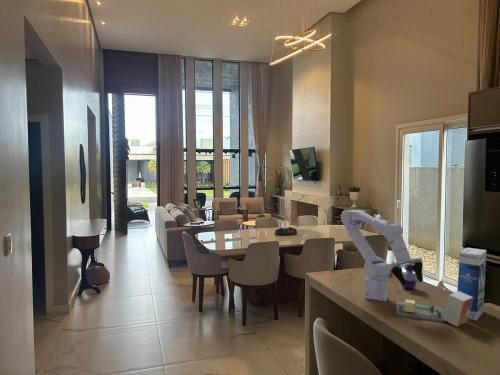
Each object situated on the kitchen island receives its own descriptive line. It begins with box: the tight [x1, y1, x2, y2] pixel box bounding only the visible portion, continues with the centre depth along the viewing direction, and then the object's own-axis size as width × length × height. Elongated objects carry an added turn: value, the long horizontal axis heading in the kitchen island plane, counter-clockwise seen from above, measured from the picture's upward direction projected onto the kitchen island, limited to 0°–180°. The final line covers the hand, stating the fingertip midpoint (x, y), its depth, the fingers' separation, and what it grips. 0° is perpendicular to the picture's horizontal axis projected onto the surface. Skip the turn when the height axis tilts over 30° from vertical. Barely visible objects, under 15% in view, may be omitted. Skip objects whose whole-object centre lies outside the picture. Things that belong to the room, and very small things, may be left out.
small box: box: [443, 291, 473, 328], centre depth 138 cm, size 8×6×10 cm
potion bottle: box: [402, 265, 419, 291], centre depth 176 cm, size 9×9×12 cm
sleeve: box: [404, 298, 416, 313], centre depth 146 cm, size 4×4×4 cm
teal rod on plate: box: [395, 301, 446, 323], centre depth 145 cm, size 17×8×5 cm, turn 69°
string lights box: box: [456, 247, 487, 321], centre depth 147 cm, size 13×8×26 cm, turn 137°
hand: (412, 283), depth 146 cm, fingers open, 7 cm apart
